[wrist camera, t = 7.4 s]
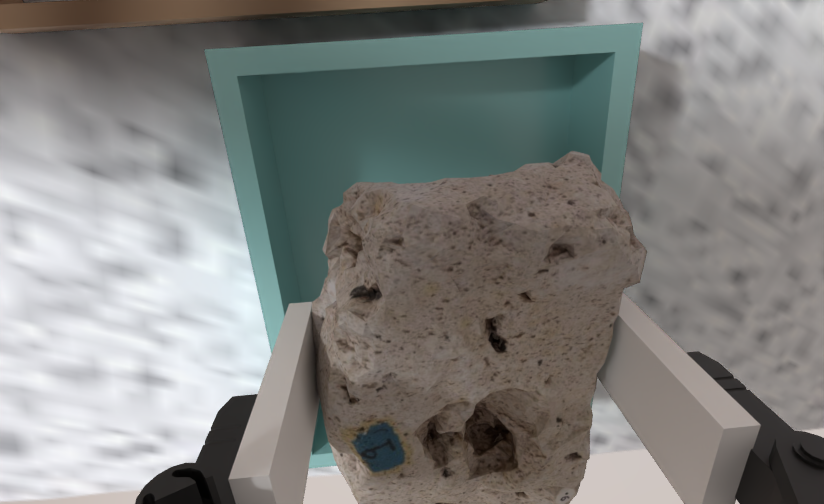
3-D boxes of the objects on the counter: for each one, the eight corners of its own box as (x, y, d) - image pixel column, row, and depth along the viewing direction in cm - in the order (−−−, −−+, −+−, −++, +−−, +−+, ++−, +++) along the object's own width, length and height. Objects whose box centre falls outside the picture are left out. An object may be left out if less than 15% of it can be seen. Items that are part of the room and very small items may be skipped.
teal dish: (308, 407, 24) (297, 469, 21) (239, 50, 17) (204, 49, 14) (556, 382, 25) (587, 439, 21) (588, 28, 18) (643, 22, 14)
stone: (572, 539, 17) (292, 561, 14) (520, 407, 21) (302, 408, 19) (809, 242, 10) (326, 195, 7) (652, 140, 14) (328, 93, 12)
